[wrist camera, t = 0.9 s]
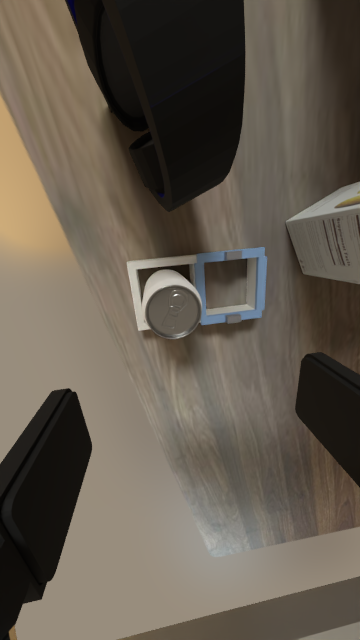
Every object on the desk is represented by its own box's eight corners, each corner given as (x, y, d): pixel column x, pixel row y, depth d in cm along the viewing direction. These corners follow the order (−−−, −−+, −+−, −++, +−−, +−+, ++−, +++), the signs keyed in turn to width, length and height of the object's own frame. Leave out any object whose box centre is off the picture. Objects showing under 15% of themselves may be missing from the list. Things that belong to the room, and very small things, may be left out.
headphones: (203, 201, 28) (303, 109, 9) (160, 225, 28) (177, 180, 10) (130, 22, 22) (-9, -1378, 3) (76, 55, 22) (-354, -1037, 3)
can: (193, 276, 31) (216, 292, 20) (179, 315, 33) (192, 349, 22) (152, 262, 30) (151, 270, 19) (139, 303, 32) (132, 333, 20)
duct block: (255, 247, 31) (271, 246, 27) (253, 310, 34) (267, 319, 30) (128, 259, 29) (124, 261, 25) (139, 324, 33) (137, 336, 28)
